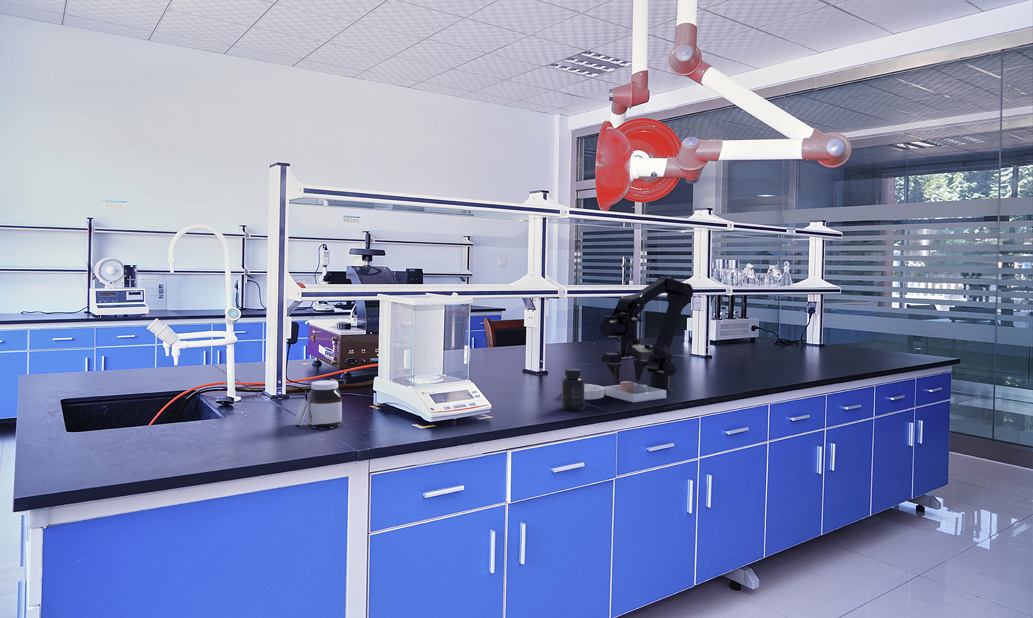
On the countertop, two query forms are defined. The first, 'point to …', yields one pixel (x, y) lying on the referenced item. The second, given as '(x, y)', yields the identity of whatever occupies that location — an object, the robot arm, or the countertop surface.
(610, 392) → the parts tray
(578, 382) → the supplement bottle
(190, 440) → the countertop surface
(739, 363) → the countertop surface
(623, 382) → the beige rounded cube
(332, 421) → the spread jar
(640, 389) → the grey cube
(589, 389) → the bowl
